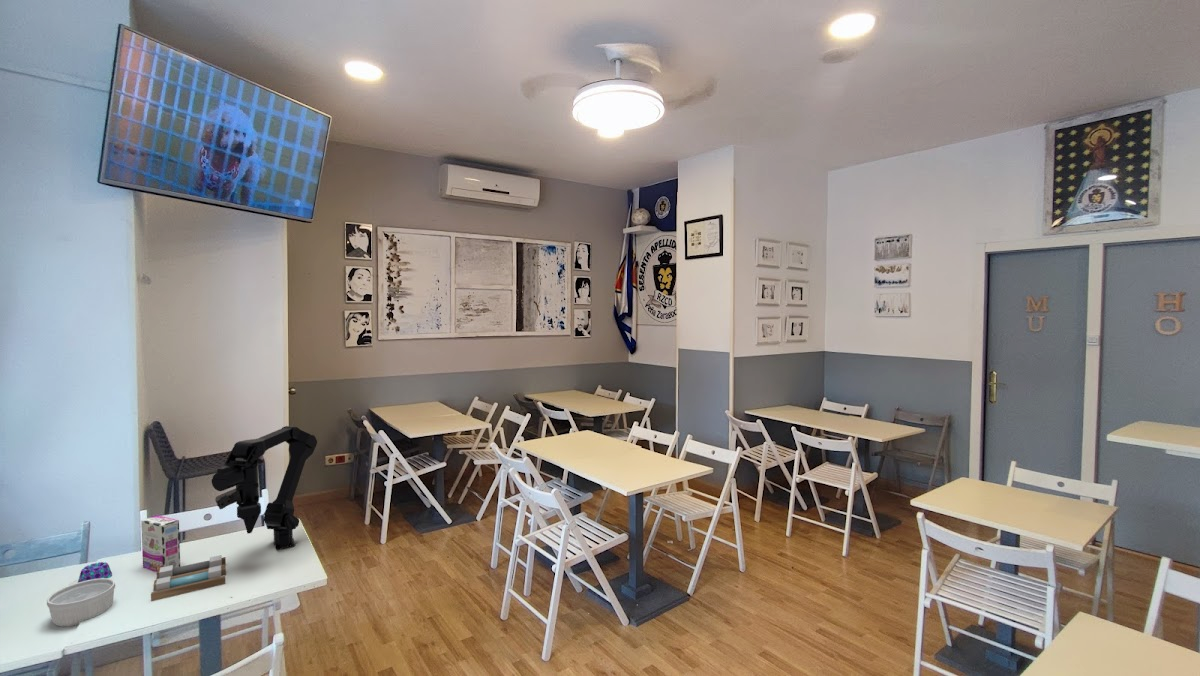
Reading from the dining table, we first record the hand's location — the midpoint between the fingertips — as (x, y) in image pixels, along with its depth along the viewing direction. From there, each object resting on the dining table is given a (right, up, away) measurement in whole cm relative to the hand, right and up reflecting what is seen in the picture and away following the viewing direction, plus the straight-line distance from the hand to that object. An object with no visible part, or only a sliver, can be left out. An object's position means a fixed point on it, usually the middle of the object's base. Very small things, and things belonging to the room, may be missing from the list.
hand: (249, 528), depth 173 cm
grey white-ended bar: (-12, -11, -9) cm, 19 cm away
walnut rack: (-10, -13, -12) cm, 20 cm away
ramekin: (-26, -14, -28) cm, 41 cm away
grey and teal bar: (-7, -12, -15) cm, 21 cm away
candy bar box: (-25, -12, -4) cm, 28 cm away
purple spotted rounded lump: (-39, -13, -11) cm, 42 cm away
